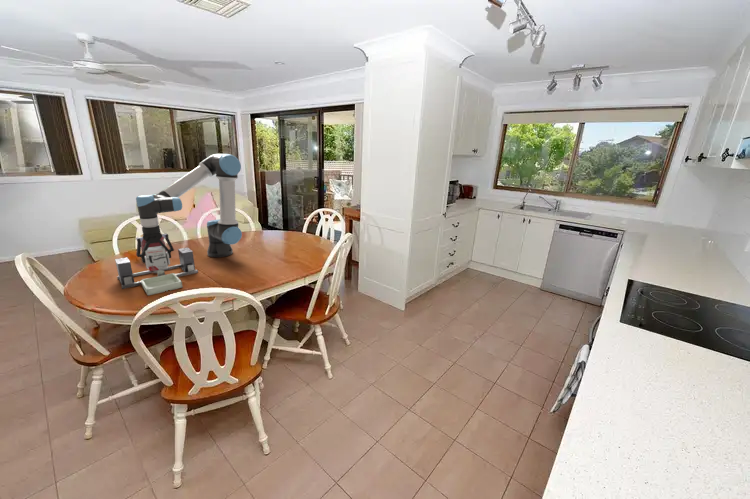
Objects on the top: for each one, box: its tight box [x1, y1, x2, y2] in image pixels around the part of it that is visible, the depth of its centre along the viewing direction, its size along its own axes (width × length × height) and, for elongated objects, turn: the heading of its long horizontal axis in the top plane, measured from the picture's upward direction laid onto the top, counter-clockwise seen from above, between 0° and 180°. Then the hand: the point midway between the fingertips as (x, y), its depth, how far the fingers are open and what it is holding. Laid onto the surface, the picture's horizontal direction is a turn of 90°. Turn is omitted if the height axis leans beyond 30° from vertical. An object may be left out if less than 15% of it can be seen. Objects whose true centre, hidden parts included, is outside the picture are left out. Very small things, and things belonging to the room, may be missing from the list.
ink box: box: [145, 246, 169, 271], centre depth 165 cm, size 8×5×12 cm, turn 123°
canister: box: [139, 232, 167, 256], centre depth 193 cm, size 13×13×18 cm
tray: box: [140, 272, 183, 296], centre depth 156 cm, size 15×15×3 cm
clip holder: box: [114, 247, 199, 290], centre depth 166 cm, size 34×15×12 cm, turn 135°
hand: (158, 265), depth 167 cm, fingers closed on ink box, 9 cm apart
